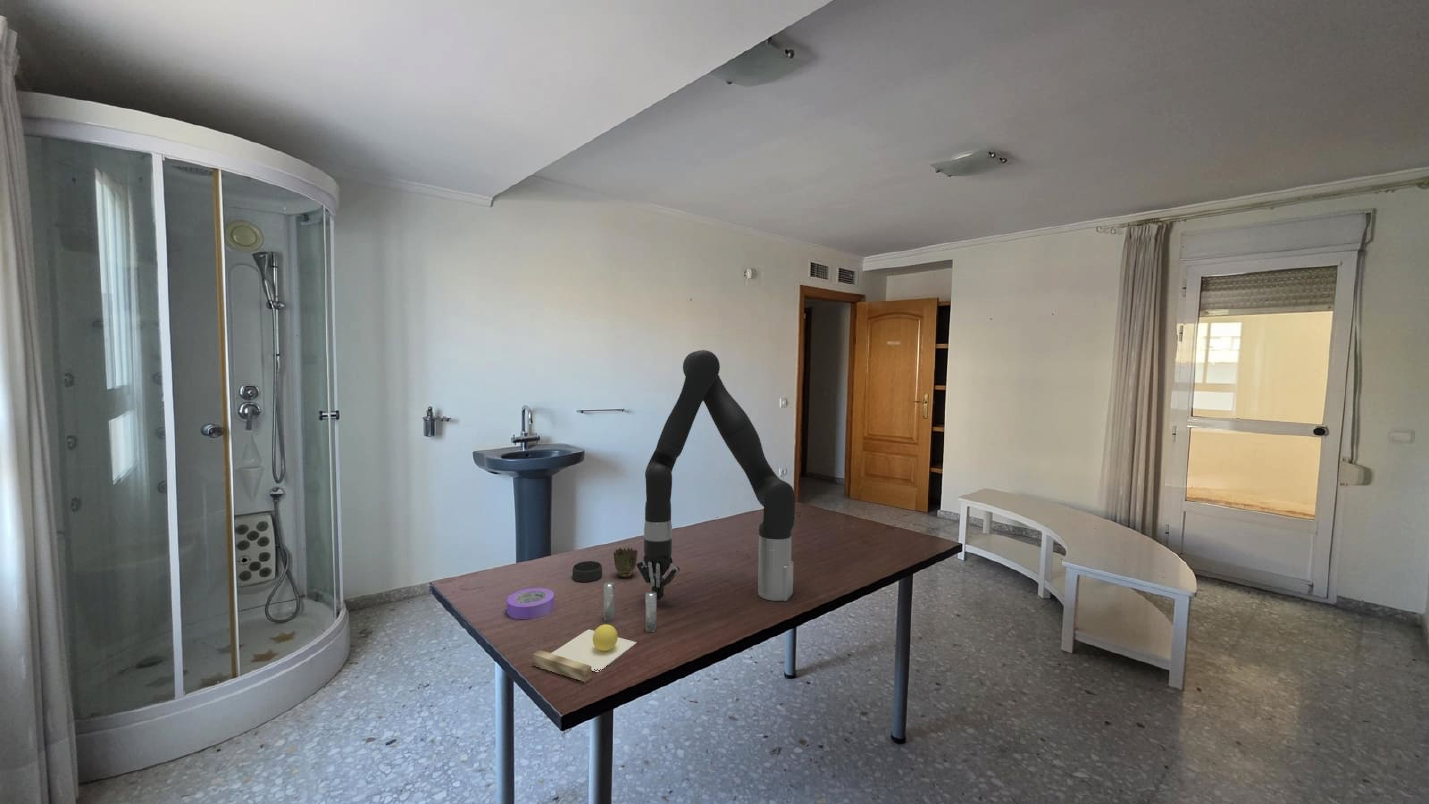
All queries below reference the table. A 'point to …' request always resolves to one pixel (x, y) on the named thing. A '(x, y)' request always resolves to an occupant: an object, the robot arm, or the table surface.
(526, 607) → the masking tape
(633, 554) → the cup
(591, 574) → the smart speaker
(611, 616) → the post left
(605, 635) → the ball
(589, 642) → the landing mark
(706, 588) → the table surface
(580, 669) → the strip
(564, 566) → the table surface
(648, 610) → the post right
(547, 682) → the table surface
